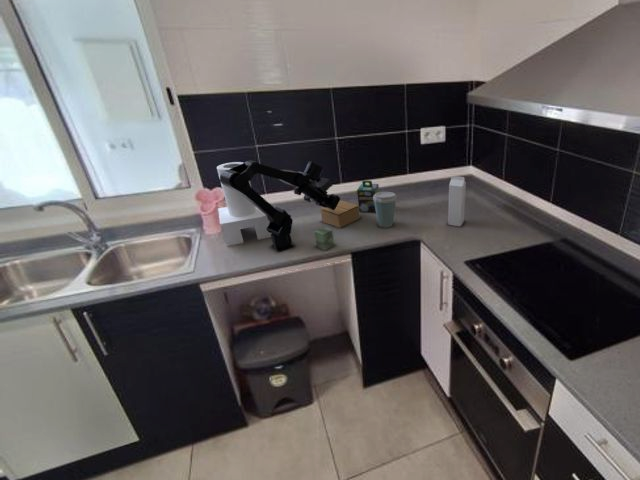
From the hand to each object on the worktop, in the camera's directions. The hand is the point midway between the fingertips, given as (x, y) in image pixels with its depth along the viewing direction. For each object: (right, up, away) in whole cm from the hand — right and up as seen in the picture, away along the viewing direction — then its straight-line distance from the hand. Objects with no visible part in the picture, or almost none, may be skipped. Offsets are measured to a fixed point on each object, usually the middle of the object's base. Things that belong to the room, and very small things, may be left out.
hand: (333, 207), depth 172 cm
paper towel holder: (-36, -12, -5) cm, 39 cm away
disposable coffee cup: (+24, -8, +1) cm, 25 cm away
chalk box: (+14, +1, +18) cm, 23 cm away
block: (+1, -18, -17) cm, 24 cm away
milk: (+56, -7, +2) cm, 56 cm away
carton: (+2, -5, +6) cm, 9 cm away
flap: (0, -1, +1) cm, 2 cm away
